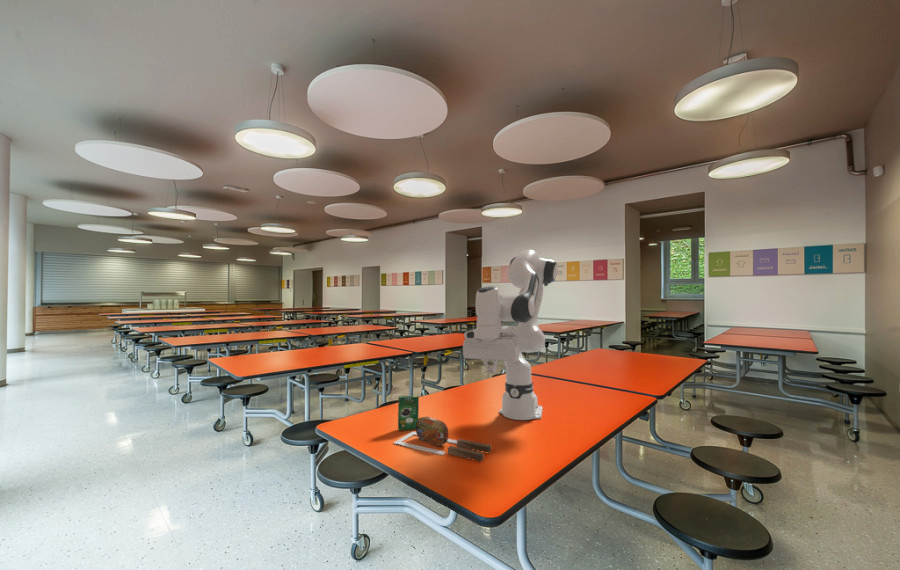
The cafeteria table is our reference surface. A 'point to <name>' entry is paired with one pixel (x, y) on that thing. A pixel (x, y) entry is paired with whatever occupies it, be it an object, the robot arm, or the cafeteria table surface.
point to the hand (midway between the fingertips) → (491, 372)
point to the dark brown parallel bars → (469, 453)
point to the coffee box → (408, 412)
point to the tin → (432, 431)
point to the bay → (421, 446)
